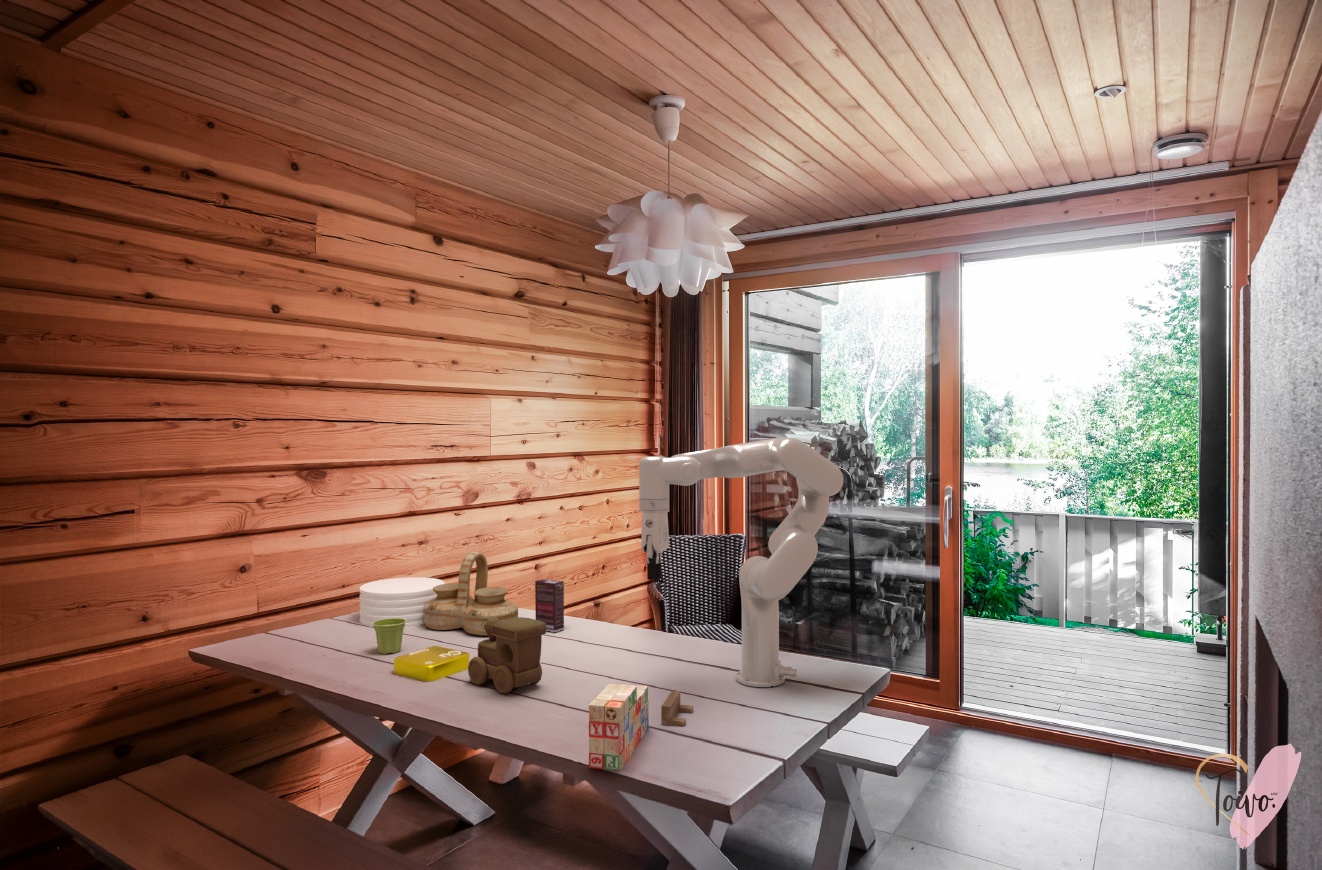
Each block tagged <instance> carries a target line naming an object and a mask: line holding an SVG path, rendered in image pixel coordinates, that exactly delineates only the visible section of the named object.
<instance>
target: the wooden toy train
mask: <svg viewBox="0 0 1322 870" xmlns="http://www.w3.org/2000/svg"><path fill="white" fill-rule="evenodd" d="M484 629H485V631H486V633H487V635H486V636H487V637H488V638H487V639H484V640H481V641H479V642H478V644H477V656H474V657H472V658H471V659H470V660H469V665H468V669H467V674H468V678H469V679H470V681H471V682H472V683H473V684H475V685H478V686H481V685H483V684H485V682H486V681H487V678H488V679H491V680H493V685H494V687H495V689H496V690H497V691H498V692H499V693H500V694H502V693H503V695H508V694H510V693H511V691H512V690H513V688H520V687H523V686H526V685H534V686H536V685H537V684H539V682H540V681H541V680H542V676H543V668H542V665H541V663H540V661H541V655H542V643H543V642H542V641H543V640H542V638H543V637H542V635H546V634H547V631H546V623H544V622H542V621H539V620H536V618H535V619H534V618H530V617H522V616H521V617H518V618H512V619H508V620H504V621H499V620H498V618H489V619H488V620H487V621H486V623H485V625H484Z"/></svg>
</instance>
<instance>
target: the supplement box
mask: <svg viewBox="0 0 1322 870" xmlns="http://www.w3.org/2000/svg"><path fill="white" fill-rule="evenodd" d="M564 582H565V581H564V580H556V579H547V578H542V579H541V578H540V579H538V580H535V583H534V585H535V587H534V590H535V591H534V592H535V593H534V597H535V604H534V605H535V620H539V621H542V622H544V623H546V632H548V631H550V632H549V633H554V632H556V633H559V632H561V631H560V630H562V631H564V630H565V592H564V591H565V589H564V588H565V583H564ZM558 631H559V632H558Z"/></svg>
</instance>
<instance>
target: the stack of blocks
mask: <svg viewBox="0 0 1322 870" xmlns="http://www.w3.org/2000/svg"><path fill="white" fill-rule="evenodd" d="M649 701H650V700H649V686H648V685H637V684H634V685H633V684H622V683H621V684H615V683H608V684H607V685H605V687H604V689H602V691H601V692H600V693H599V694H598V695H597V696H596V697H595V698H594V699H593V700H592V701H591V702H590V703H589V704H588V768H589V769H599V770H607V769H608V771H616V770H620V769H622V768H623V767H624V766H625V764H626V763H627V762H628V760H629V759H630V757H631V756H632V755H633V753H634V751H635V749H636V748H637V746H638V744H639V743H640V741H641V740H642V739H643V738H644V736H645V735H646V733H647V731H648V730H649V718H650V717H649V716H650V715H649V714H650V713H649ZM638 742H639V743H638ZM635 747H636V748H635ZM633 750H634V751H633ZM632 752H633V753H632ZM626 761H627V762H626Z"/></svg>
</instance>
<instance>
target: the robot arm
mask: <svg viewBox="0 0 1322 870" xmlns="http://www.w3.org/2000/svg"><path fill="white" fill-rule="evenodd" d="M780 471H784V472H785V471H786V472H788V473H789V474H791V475H792V476H793V477H794V478H795V479H796V484H797V488H798V497H797V501H796V503H795V505H794V506H793V508H792V509H791V511H790V512H789V513H788V514H787V516H785V518H784V519H783V520H782V522H781V523H780V524H779V525H778V527H777V528H775V530H774V531H773V532H772V533H771V535H770V537H769V540H768V543H767V544H768V545H767V546H768V549H769V551H770V553H771V555H770V556H769V558H768V557H765V556H761V555H755V556H754V555H753V556H751V557H749V558H747V559H746V560H745V561H744V562H743V563H742V565H741V567H740V570H739V576H738V579H739V580H738V581H739V589H740V590H739V591H740V598H741V599H740V601H741V670H738V671H737V672H736V674H735V680H736V681H737V682H738V683H740V684H741V685H745V686H749V687H754V688H770V687H771V686H773V687H778V686H781V685H782V683H783V684H784V683H785V682H786V676H787V677H793V678H794V677H795V678H796V677H797V668H793V666H784V665H783V664H782V660H780V652H779V651H780V610H779V609H780V608H779V607H780V605H779V601H780V600H782V599H784V598H785V597H786V596H787V595H788V594H789V593H790V592H791V591H792V590H793V589H794V588H795V587H796V585H797V584H798V582H799V581H800V580H801V579H802V578H803V577H804V575H805V574H806V573H807V572H808V571H809V569H810V567H811V566H812V565H813V564H814V562H815V560H816V558H817V556H818V555H817V554H818V552H819V547H818V541H817V539H816V537H815V535H816V534H817V533H818V532H819V530H820V528H821V527H822V526H823V524H824V522H825V521H826V519H827V517H828V515H829V510H830V509H829V507H830V497H832V496H834V495H836V494H838V493H839V492H840V491H841V490H842V488H843V486H844V475H843V472H842V471H841V469H840V468H839V467H838V465H836V464H835V463H833V462H832V461H831V460H829V459H828V458H826V457H824V455H822V454H820V453H819V452H818V451H816V450H815V449H813V447H810V445H808V444H807V443H805V442H803V441H802V440H800V439H798V438H796V437H774V438H769V439H768V438H767V439H762V440H755V441H749V442H744V443H738V444H737V443H736V444H731V445H726V446H721V447H718V448H710V449H705V450H704V449H703V450H699V451H693V452H686V453H678V454H675V455H672V456H670V457H666V456H663V455H661V456H657V455H656V456H655V455H652V456H650V455H649V456H648V455H647V456H643V457H641V458H640V460H639V462H638V477H639V479H638V483H639V486H638V489H639V490H638V492H639V493H638V495H639V497H638V500H639V501H638V503H639V504H638V509H639V511H638V512H639V513H642V516H641V517H642V518H641V551H642V552H643V553H646V561H647V562H646V563H647V565H646V567H647V574H646V575H647V576H646V578H647V580H649V581H650V580H652V581H660V579H662V553H663V552H665V551H666V550H667V549H668V548H669V547H670V537H669V536H670V535H669V519H668V518H669V517H668V513H670V485H677V486H684V487H685V486H692V485H694V484H696V483H697V482H698V481H699V480H705V479H713V478H722V479H723V478H726V479H737V478H744V477H749V476H755V475H762V474H769V473H774V472H780ZM784 681H785V682H784ZM780 684H781V685H780ZM777 685H778V686H777ZM771 688H772V687H771Z"/></svg>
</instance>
